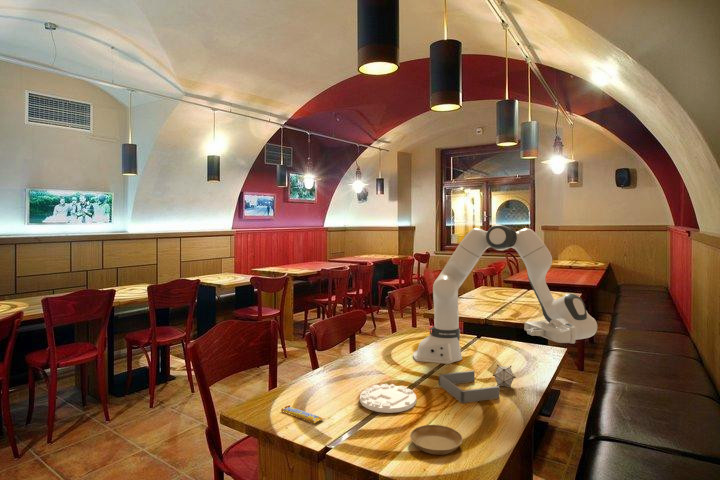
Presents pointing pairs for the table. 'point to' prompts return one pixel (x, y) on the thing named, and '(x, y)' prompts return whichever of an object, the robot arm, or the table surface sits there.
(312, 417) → the candy bar
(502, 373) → the game die
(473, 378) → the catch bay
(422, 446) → the plant saucer
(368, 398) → the embossed medallion
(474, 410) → the table surface
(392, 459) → the table surface
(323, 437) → the table surface
